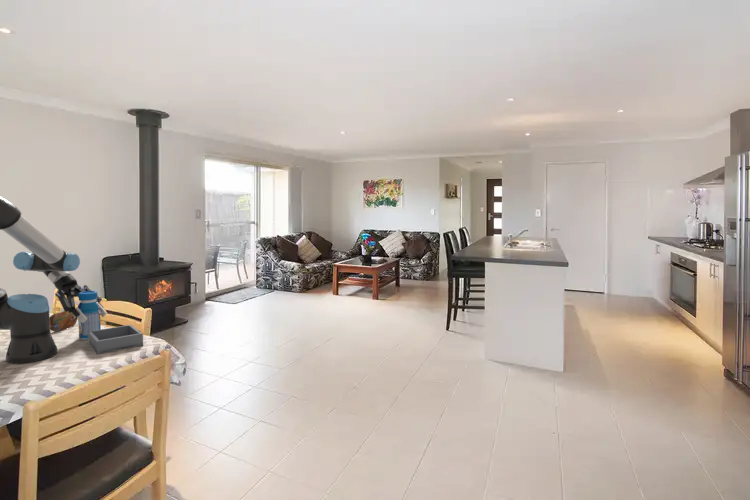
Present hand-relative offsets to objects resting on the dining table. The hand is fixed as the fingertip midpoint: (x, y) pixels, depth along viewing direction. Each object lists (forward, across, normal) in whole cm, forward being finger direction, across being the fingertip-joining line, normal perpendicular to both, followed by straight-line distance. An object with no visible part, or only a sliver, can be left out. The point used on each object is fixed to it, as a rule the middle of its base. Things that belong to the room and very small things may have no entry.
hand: (95, 317), depth 182 cm
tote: (+17, +5, +4) cm, 18 cm away
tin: (-12, -8, -25) cm, 29 cm away
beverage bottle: (+4, 0, -9) cm, 10 cm away
